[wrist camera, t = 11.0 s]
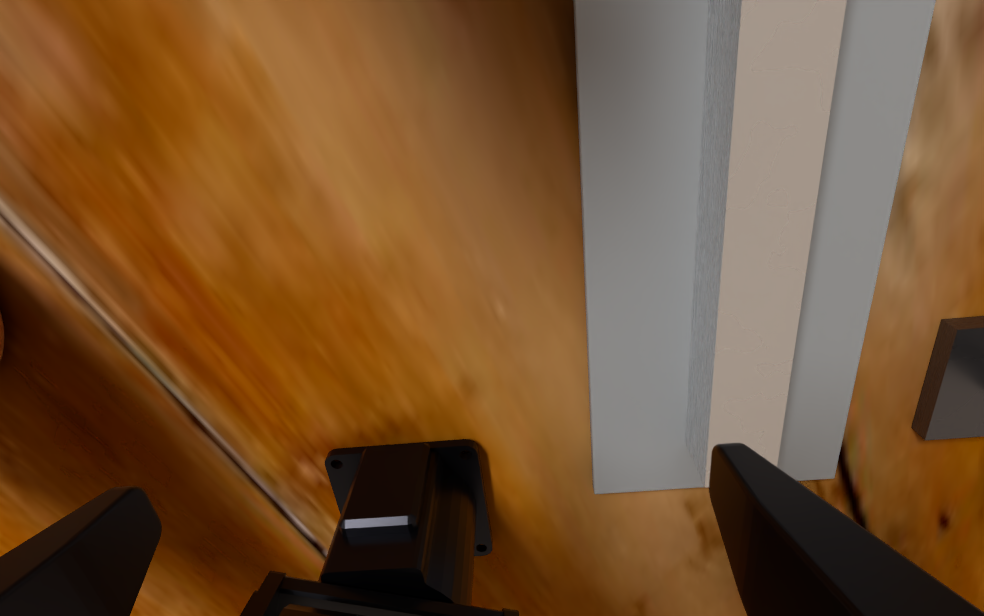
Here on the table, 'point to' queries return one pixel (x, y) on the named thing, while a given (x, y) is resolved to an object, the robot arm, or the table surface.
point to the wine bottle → (1, 336)
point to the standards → (954, 383)
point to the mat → (673, 219)
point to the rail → (755, 213)
